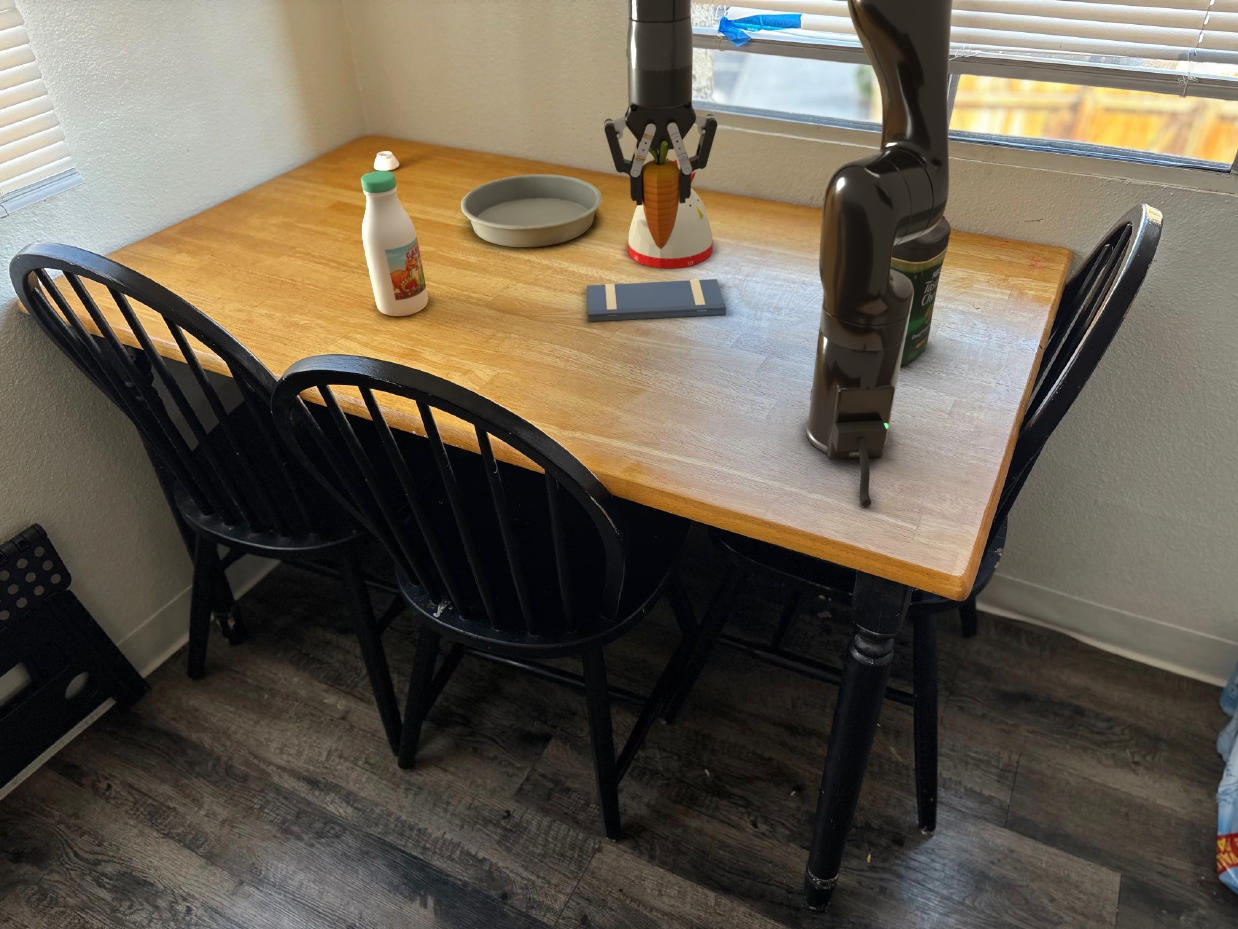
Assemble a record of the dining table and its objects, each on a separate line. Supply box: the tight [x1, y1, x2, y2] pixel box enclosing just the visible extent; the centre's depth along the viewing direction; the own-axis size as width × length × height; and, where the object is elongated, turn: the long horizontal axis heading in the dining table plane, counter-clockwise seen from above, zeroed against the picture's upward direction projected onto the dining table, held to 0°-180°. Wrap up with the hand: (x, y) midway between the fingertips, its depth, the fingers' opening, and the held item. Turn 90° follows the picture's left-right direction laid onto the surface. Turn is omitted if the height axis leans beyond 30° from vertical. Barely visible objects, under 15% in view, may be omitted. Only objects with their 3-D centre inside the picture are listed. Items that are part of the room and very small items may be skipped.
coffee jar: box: [891, 215, 952, 365], centre depth 116 cm, size 10×8×19 cm
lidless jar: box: [373, 150, 400, 172], centre depth 184 cm, size 5×3×5 cm
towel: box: [586, 278, 727, 322], centre depth 134 cm, size 10×20×1 cm, turn 93°
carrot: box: [641, 141, 680, 249], centre depth 113 cm, size 5×5×15 cm
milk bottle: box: [360, 170, 429, 317], centre depth 130 cm, size 8×8×20 cm
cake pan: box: [460, 173, 603, 248], centre depth 158 cm, size 25×25×4 cm
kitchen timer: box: [628, 157, 714, 269], centre depth 145 cm, size 14×14×15 cm
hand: (660, 201), depth 114 cm, fingers closed on carrot, 5 cm apart
